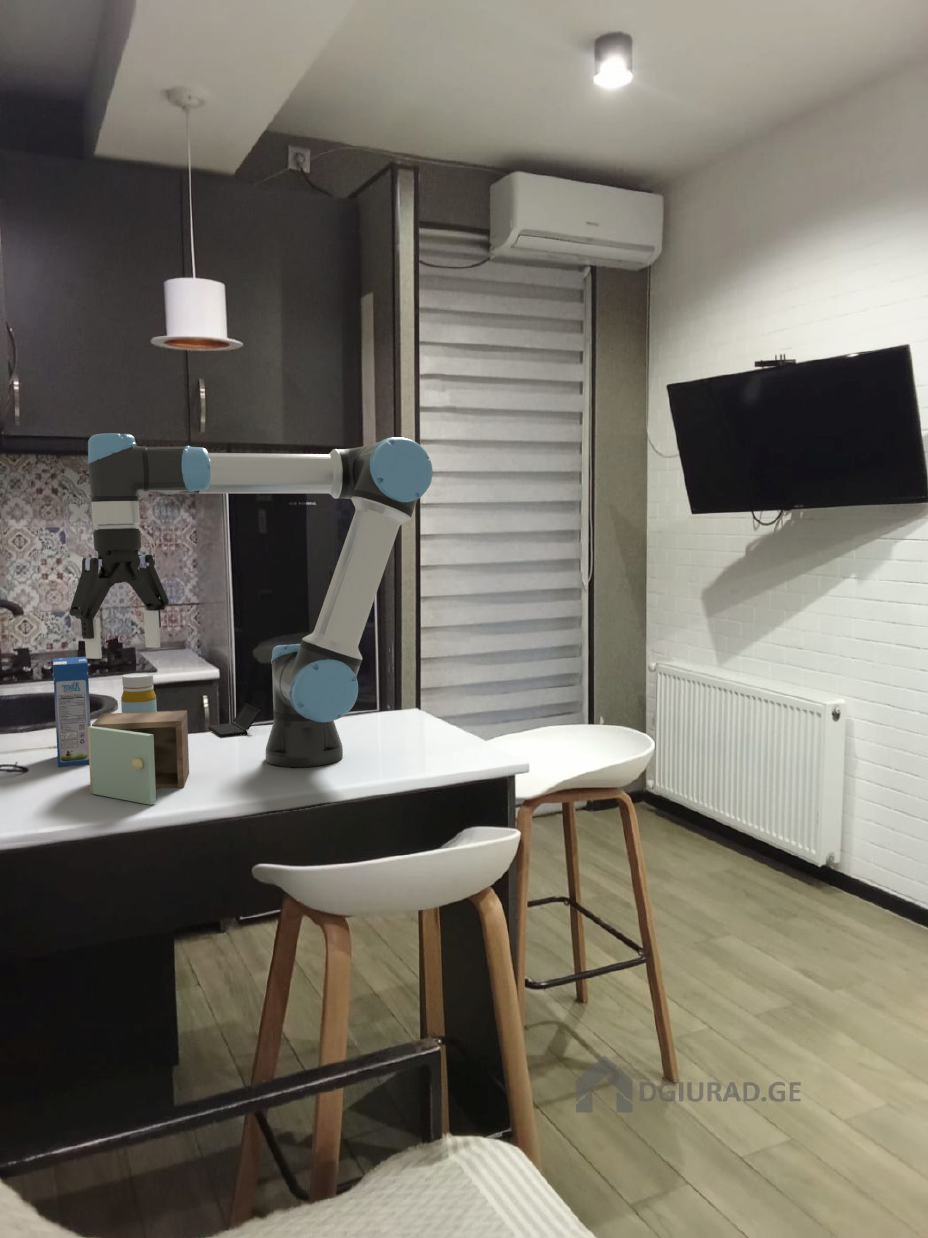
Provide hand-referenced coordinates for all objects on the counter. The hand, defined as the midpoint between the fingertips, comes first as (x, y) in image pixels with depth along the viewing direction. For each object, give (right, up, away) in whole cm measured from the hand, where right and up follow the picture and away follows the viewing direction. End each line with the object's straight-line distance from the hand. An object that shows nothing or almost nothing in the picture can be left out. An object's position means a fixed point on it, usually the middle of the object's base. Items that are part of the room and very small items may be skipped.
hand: (124, 652), depth 163 cm
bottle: (-11, -21, +41) cm, 47 cm away
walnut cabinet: (0, -24, +10) cm, 26 cm away
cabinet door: (-1, -25, -1) cm, 25 cm away
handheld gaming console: (+6, -20, +54) cm, 58 cm away
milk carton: (-20, -23, +28) cm, 41 cm away
